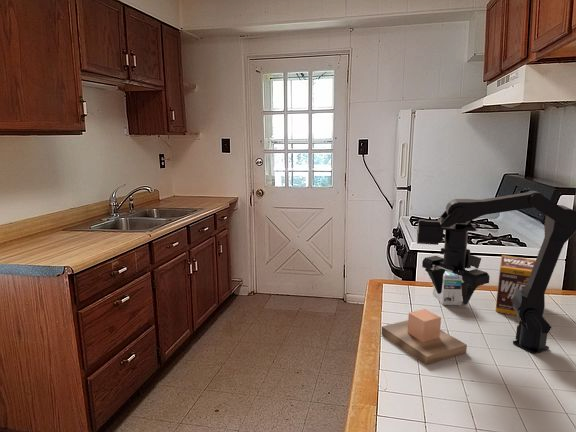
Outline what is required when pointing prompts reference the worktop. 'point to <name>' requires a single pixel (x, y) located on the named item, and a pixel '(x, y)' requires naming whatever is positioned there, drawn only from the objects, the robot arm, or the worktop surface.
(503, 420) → the worktop surface
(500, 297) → the supplement box
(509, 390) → the worktop surface
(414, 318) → the terracotta cube
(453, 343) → the walnut block
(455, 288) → the light bulb box
